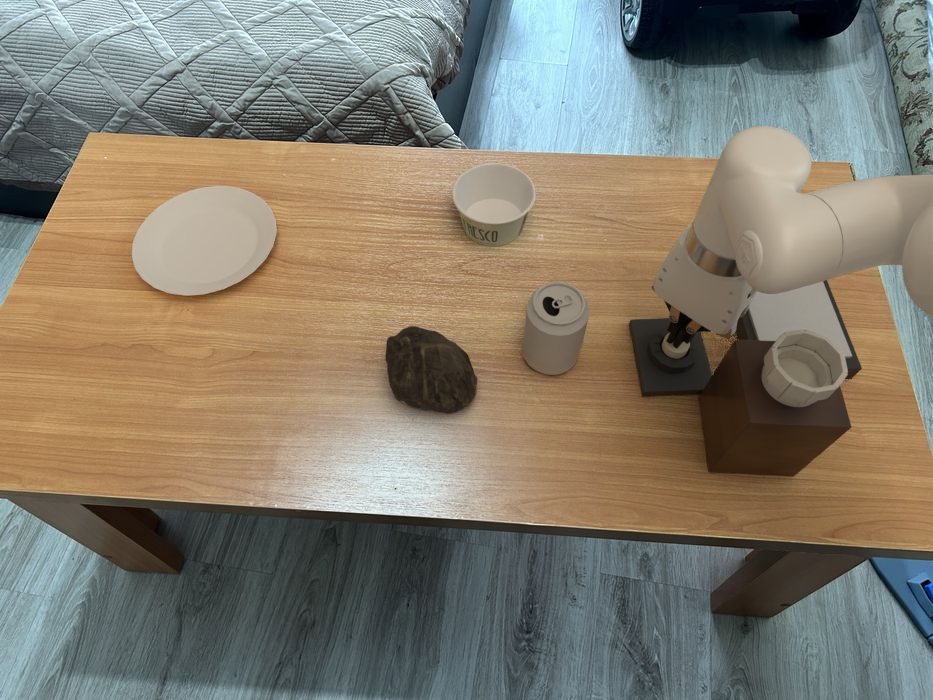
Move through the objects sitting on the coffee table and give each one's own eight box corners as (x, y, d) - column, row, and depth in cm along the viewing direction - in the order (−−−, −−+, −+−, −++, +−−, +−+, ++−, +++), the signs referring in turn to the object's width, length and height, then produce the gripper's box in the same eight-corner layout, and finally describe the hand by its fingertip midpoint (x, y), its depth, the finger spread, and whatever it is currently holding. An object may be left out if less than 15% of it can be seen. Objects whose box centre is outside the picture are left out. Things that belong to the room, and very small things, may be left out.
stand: (778, 401, 82) (828, 342, 70) (794, 476, 77) (851, 427, 65) (697, 397, 83) (734, 339, 71) (708, 472, 77) (750, 423, 65)
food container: (539, 201, 101) (543, 169, 95) (523, 260, 95) (526, 229, 89) (464, 188, 102) (463, 156, 97) (444, 245, 96) (442, 214, 91)
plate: (177, 329, 89) (171, 320, 87) (115, 240, 98) (108, 230, 96) (306, 254, 96) (303, 244, 94) (237, 176, 105) (233, 165, 103)
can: (513, 338, 88) (518, 284, 77) (565, 323, 89) (577, 268, 78) (533, 384, 84) (540, 334, 74) (587, 369, 85) (602, 317, 75)
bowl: (838, 379, 68) (860, 357, 64) (804, 425, 65) (824, 405, 61) (778, 340, 70) (795, 317, 66) (742, 384, 68) (758, 362, 64)
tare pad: (712, 394, 83) (720, 383, 80) (642, 397, 83) (647, 385, 80) (694, 322, 88) (700, 310, 86) (628, 324, 88) (632, 312, 86)
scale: (851, 378, 84) (864, 366, 81) (750, 382, 84) (760, 369, 81) (815, 285, 91) (826, 270, 88) (723, 288, 91) (731, 274, 88)
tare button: (689, 358, 82) (692, 352, 81) (664, 359, 82) (667, 353, 81) (684, 337, 84) (687, 330, 83) (659, 338, 84) (662, 331, 83)
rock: (476, 425, 80) (464, 378, 72) (388, 423, 82) (367, 377, 74) (484, 360, 86) (474, 310, 78) (402, 359, 88) (384, 310, 80)
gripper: (811, 260, 64) (746, 354, 80) (683, 186, 70) (646, 287, 86) (773, 305, 62) (713, 393, 77) (643, 225, 67) (611, 322, 83)
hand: (678, 338), depth 81 cm, fingers closed
